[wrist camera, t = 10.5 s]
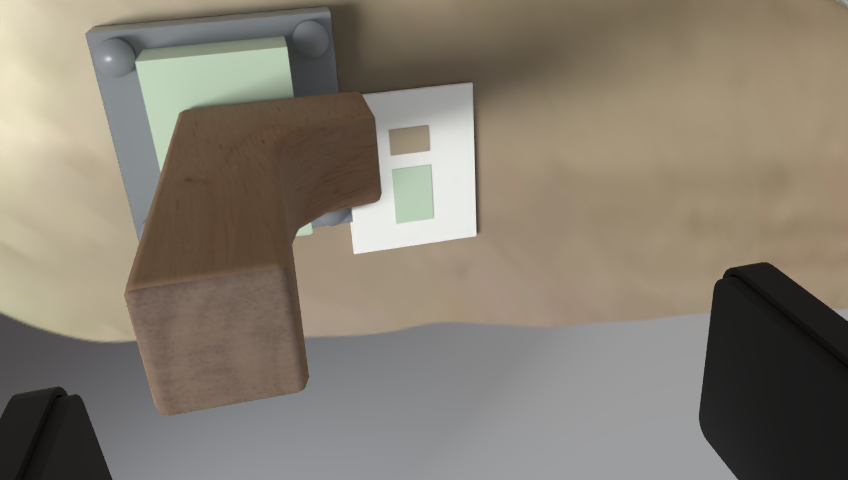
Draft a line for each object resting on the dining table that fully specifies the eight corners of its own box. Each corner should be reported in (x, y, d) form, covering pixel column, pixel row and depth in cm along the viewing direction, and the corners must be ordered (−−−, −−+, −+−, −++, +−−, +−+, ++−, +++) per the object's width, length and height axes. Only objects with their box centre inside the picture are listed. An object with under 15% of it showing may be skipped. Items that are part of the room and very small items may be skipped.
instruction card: (471, 82, 43) (472, 83, 42) (475, 233, 47) (476, 236, 47) (336, 97, 41) (337, 98, 41) (353, 251, 46) (354, 254, 45)
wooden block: (361, 88, 36) (450, 240, 20) (369, 171, 38) (456, 369, 22) (176, 108, 35) (118, 289, 19) (195, 194, 37) (156, 423, 21)
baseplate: (326, 6, 39) (336, 20, 35) (348, 208, 44) (360, 243, 40) (92, 27, 37) (72, 45, 33) (145, 236, 42) (134, 276, 38)
